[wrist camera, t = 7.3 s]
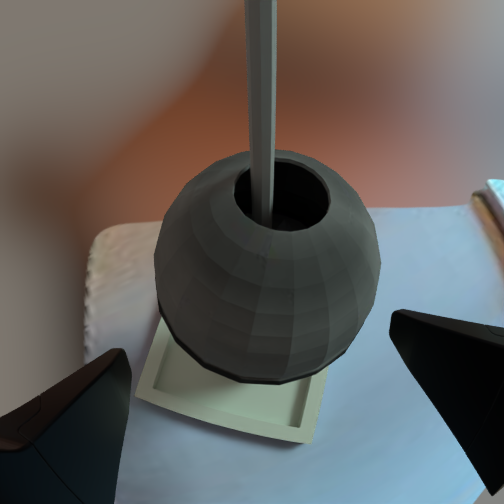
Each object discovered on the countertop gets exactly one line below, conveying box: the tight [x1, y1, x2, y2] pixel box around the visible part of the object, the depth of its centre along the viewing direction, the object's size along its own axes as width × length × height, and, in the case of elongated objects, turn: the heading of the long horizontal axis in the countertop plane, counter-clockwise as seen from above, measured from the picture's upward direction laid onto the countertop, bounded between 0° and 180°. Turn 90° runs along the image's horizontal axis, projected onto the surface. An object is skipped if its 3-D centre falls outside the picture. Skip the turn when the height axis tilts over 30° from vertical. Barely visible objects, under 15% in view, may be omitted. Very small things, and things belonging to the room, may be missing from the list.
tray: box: [134, 317, 329, 444], centre depth 20 cm, size 12×12×1 cm
